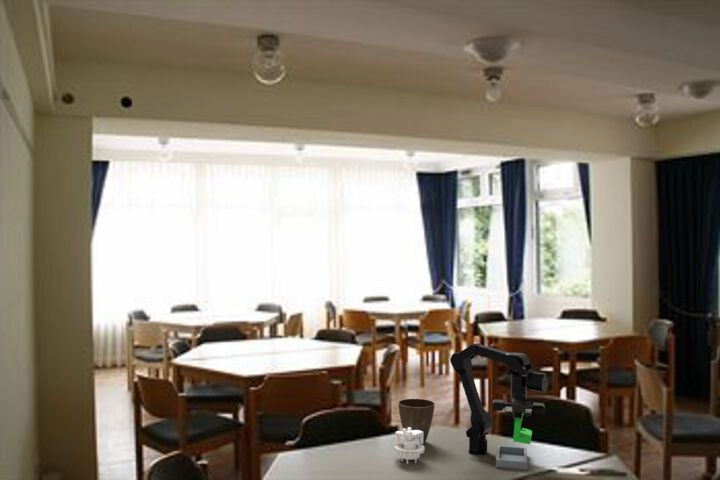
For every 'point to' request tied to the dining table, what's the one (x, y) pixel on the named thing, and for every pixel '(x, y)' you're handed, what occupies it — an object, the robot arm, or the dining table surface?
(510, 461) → the parts tray
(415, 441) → the mechanical part
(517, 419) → the mechanical part
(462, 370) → the robot arm
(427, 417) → the plant pot
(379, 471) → the dining table surface
